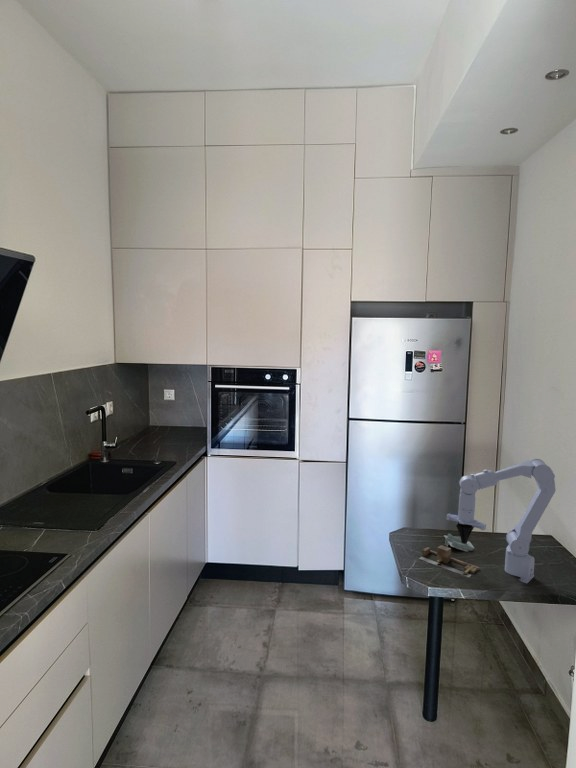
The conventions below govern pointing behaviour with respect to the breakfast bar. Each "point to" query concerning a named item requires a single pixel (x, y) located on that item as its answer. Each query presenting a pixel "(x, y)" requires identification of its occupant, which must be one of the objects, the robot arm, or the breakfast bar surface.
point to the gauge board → (467, 569)
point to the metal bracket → (457, 543)
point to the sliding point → (443, 554)
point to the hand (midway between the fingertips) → (464, 542)
